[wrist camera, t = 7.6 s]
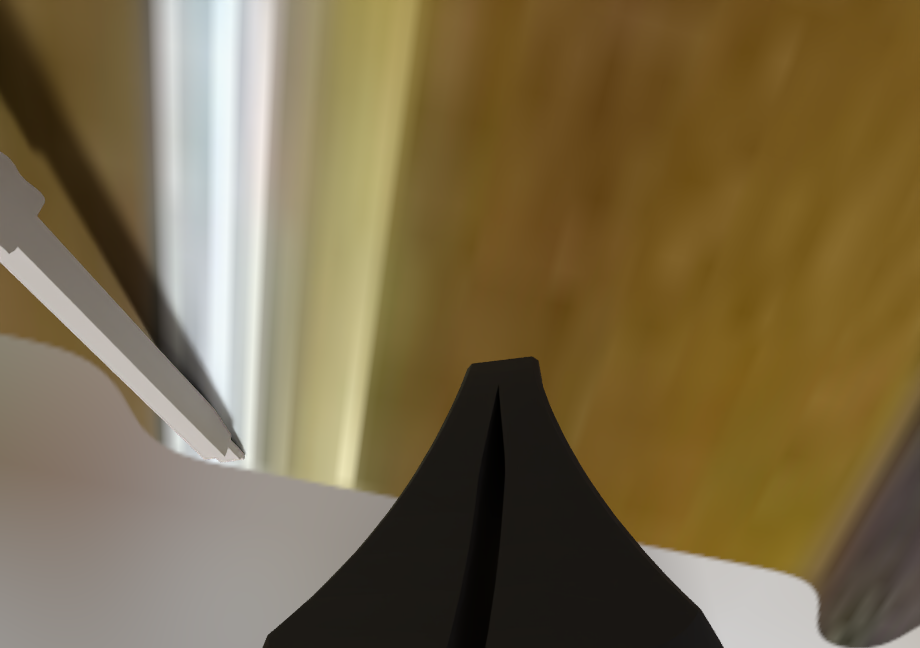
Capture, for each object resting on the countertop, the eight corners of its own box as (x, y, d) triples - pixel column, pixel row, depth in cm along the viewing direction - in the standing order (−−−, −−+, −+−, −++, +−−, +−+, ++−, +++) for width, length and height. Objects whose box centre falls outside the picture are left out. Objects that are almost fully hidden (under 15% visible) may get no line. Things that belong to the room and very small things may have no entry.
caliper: (-100, -25, 19) (-319, 27, 14) (-69, -36, 19) (-280, 12, 14) (227, 454, 30) (171, 577, 25) (249, 451, 30) (197, 574, 25)
